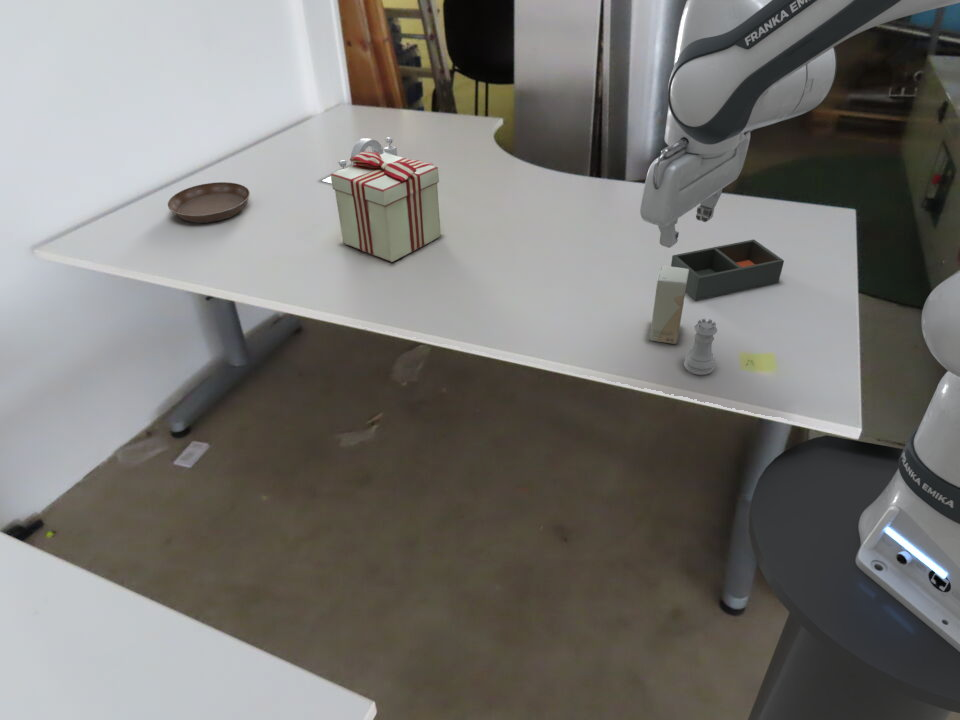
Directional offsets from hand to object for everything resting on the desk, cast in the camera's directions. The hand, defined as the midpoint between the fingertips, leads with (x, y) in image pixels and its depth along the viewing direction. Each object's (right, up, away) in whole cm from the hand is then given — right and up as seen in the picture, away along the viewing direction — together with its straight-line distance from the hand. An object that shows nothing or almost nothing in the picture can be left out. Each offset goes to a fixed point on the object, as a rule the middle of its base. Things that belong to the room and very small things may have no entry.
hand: (686, 231), depth 93 cm
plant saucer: (-88, +17, +65) cm, 111 cm away
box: (+2, -13, +20) cm, 24 cm away
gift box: (-45, +8, +51) cm, 69 cm away
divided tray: (+16, -3, +32) cm, 36 cm away
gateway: (-54, +29, +80) cm, 101 cm away
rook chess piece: (+5, -18, +12) cm, 23 cm away
